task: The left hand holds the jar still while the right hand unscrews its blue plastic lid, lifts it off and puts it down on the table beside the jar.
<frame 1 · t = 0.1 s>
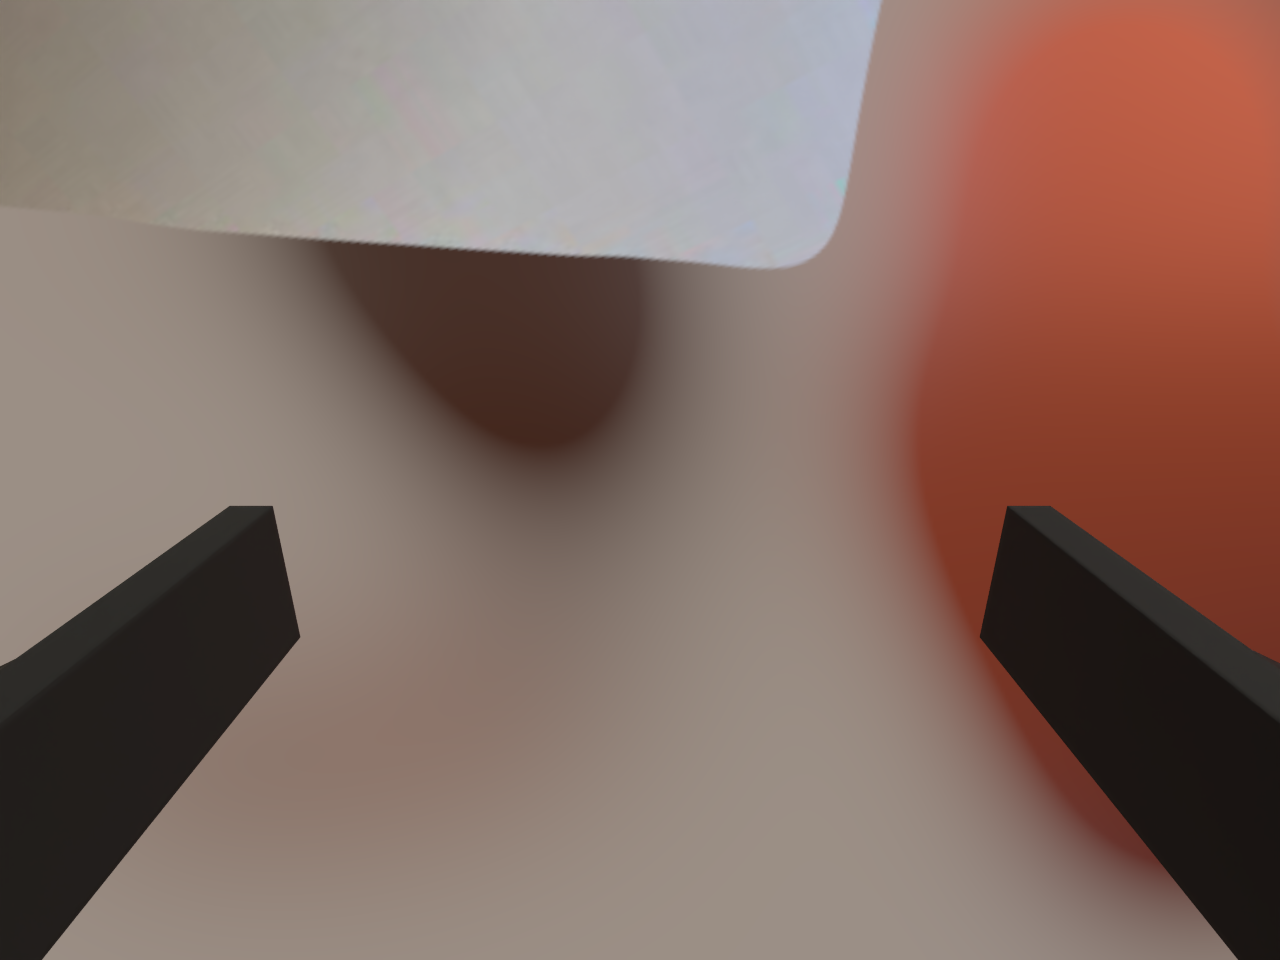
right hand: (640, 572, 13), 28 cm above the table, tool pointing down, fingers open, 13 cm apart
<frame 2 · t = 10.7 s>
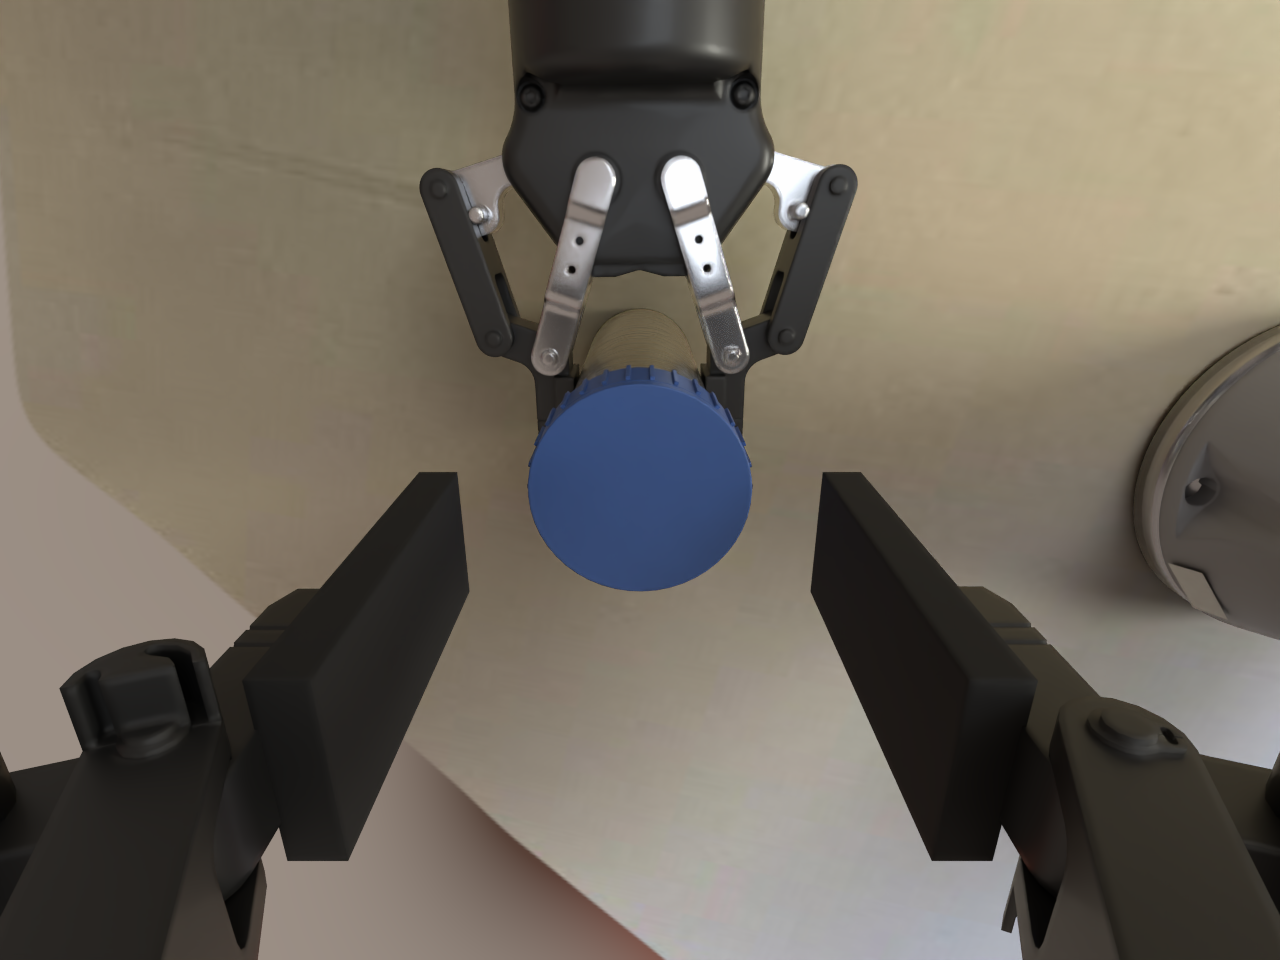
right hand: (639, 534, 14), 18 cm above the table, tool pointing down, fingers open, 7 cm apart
left hand: (641, 466, 26), fingers closed on jar, 4 cm apart
jar: (640, 360, 31), on the table, touching left hand
lid: (639, 488, 16), point 15 cm above the table, screwed on, not yet turned
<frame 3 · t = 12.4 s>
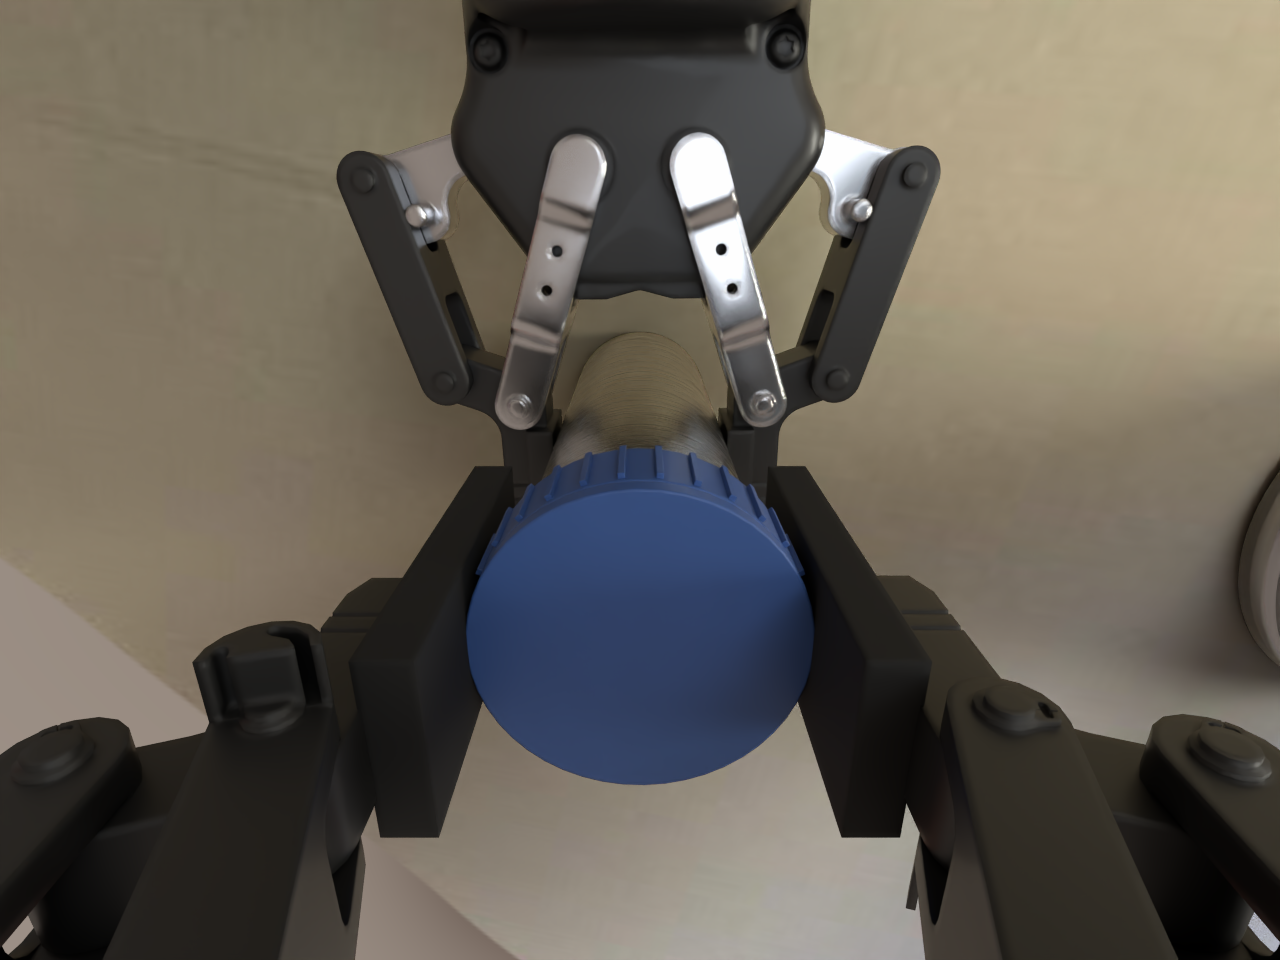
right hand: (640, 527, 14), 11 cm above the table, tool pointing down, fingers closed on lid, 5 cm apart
left hand: (642, 539, 20), fingers closed on jar, 4 cm apart
jar: (640, 394, 25), on the table, touching left hand
lid: (640, 637, 11), point 15 cm above the table, screwed on, not yet turned, touching right hand
when the right hand's fingers open (12 cm above the table, at t = 13.8 s): lid stays where it is, point 16 cm above the table.
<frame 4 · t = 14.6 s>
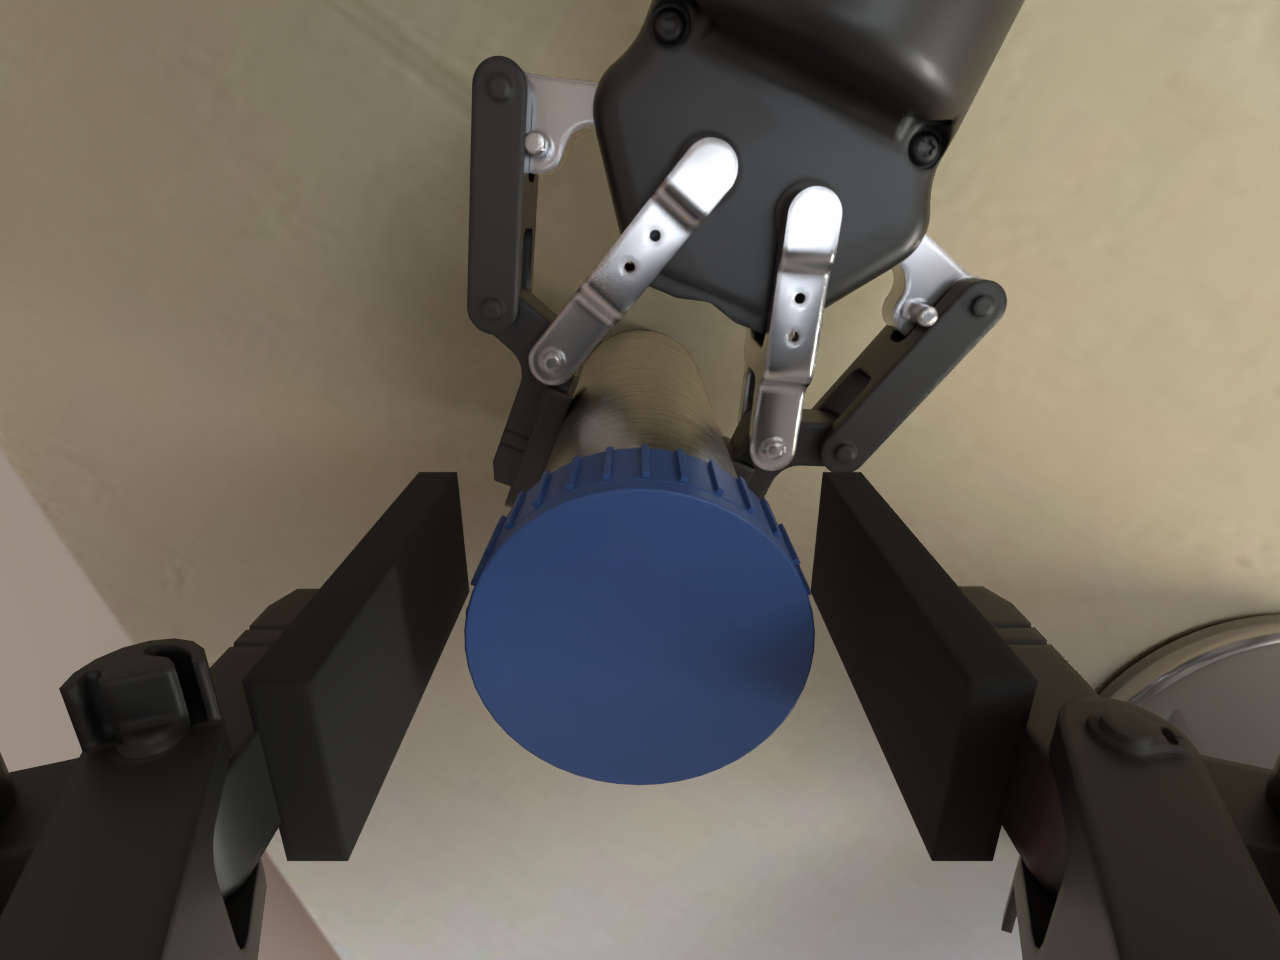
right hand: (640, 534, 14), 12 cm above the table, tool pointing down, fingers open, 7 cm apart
left hand: (606, 528, 20), fingers closed on jar, 4 cm apart
jar: (640, 392, 25), on the table, touching left hand
lid: (639, 637, 11), point 16 cm above the table, turned 111° so far, risen 0.3 cm, still on its thread
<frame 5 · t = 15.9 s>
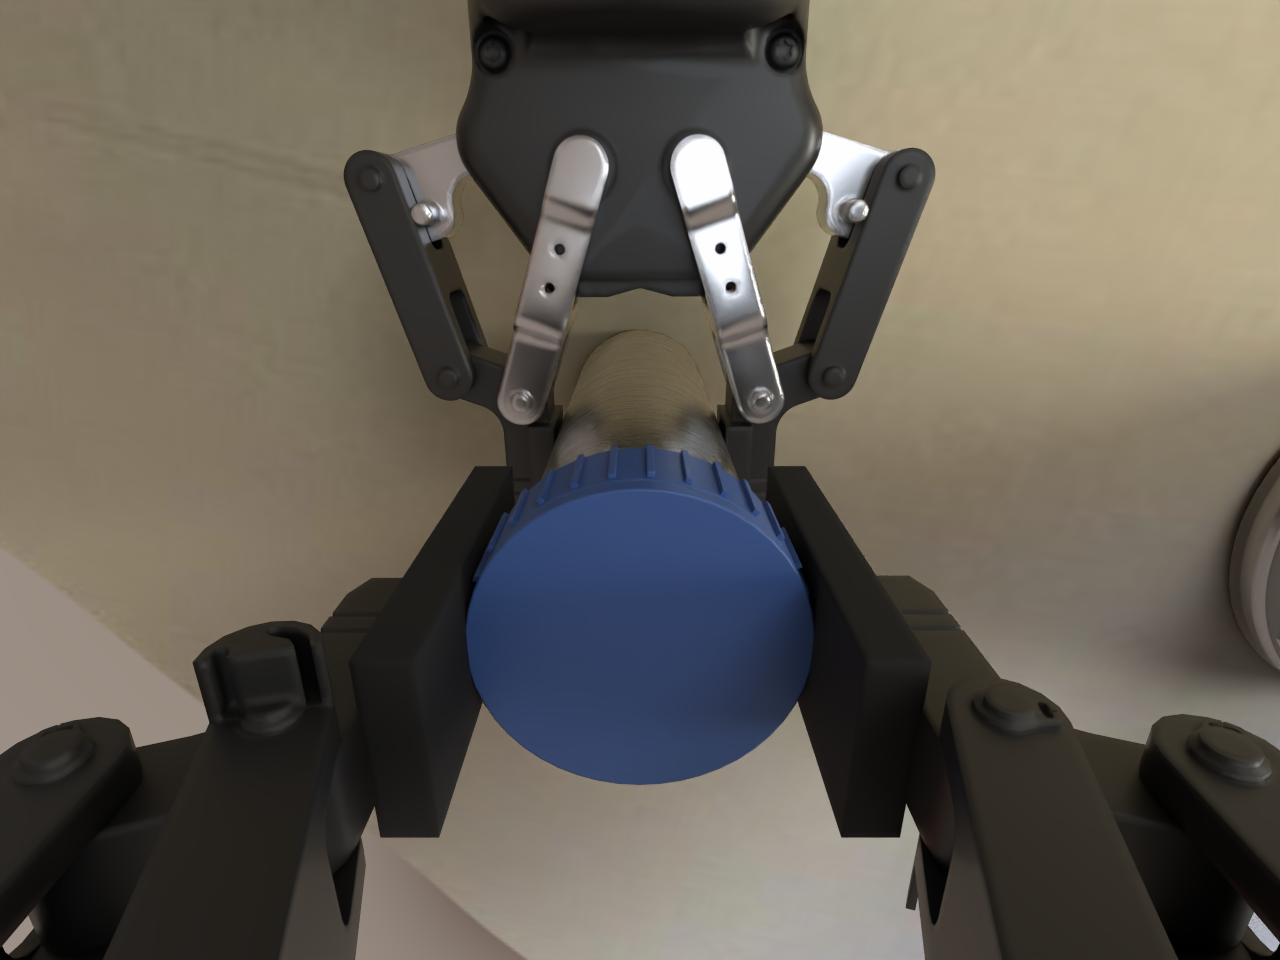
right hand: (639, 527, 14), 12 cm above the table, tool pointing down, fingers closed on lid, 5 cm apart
left hand: (641, 534, 20), fingers closed on jar, 4 cm apart
jar: (640, 392, 25), on the table, touching left hand
lid: (639, 637, 11), point 16 cm above the table, turned 111° so far, risen 0.3 cm, still on its thread, touching right hand
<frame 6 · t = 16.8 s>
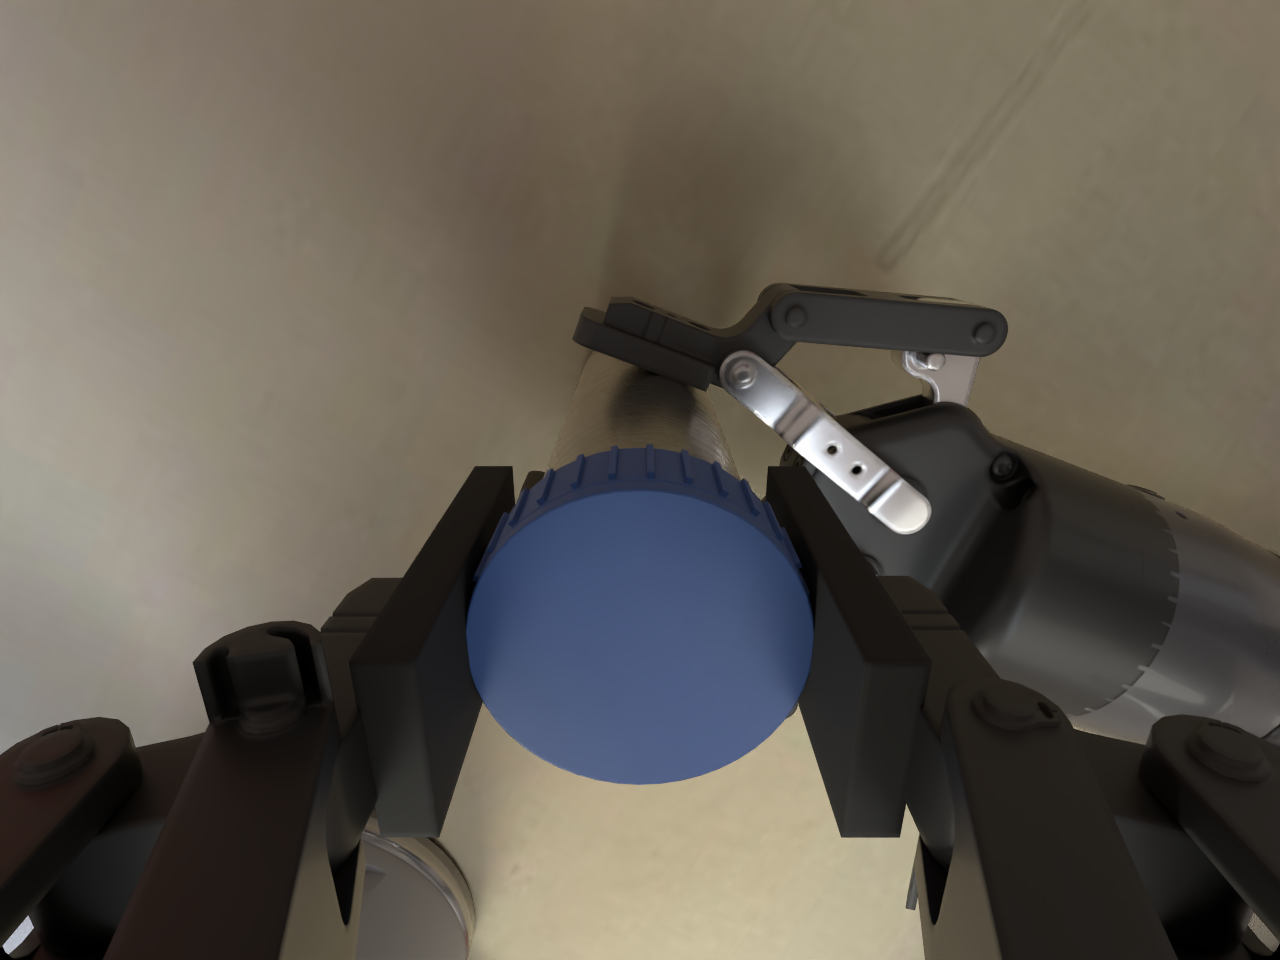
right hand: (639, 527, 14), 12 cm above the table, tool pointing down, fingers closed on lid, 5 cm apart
left hand: (551, 412, 19), fingers closed on jar, 4 cm apart
jar: (641, 389, 26), on the table, touching left hand
lid: (639, 637, 11), point 16 cm above the table, off its thread, touching right hand
when the right hand's fingers open (0 cm above the table, at t = 22.9 s): lid drops 3 cm, point 1 cm above the table.
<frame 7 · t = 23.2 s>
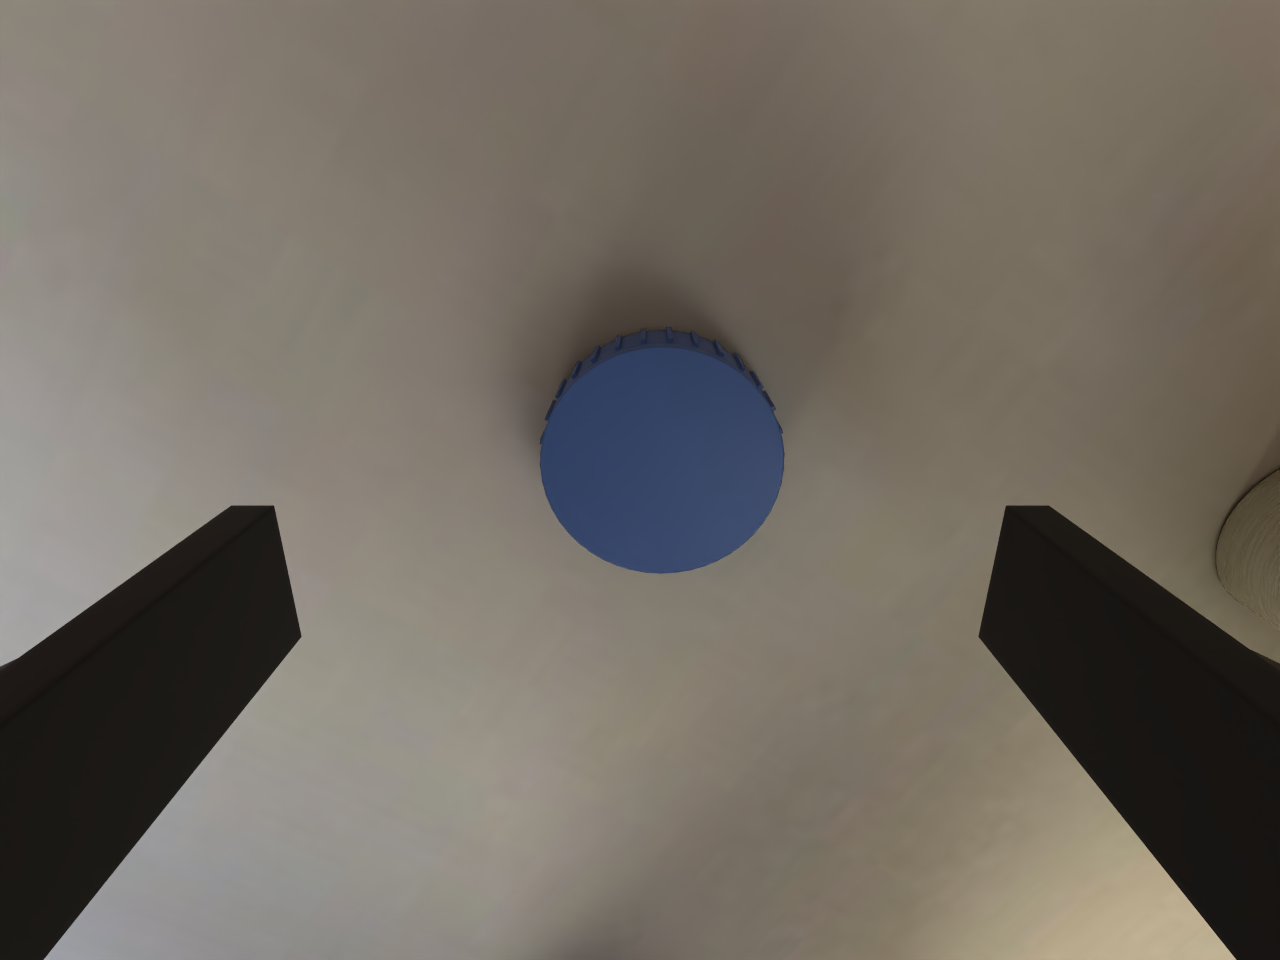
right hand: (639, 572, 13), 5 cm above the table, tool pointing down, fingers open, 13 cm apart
lid: (661, 462, 15), point 1 cm above the table, off its thread
when the left hand's fingers open (6 cm above the table, at t = 23.5 s): jar stays where it is, on the table.
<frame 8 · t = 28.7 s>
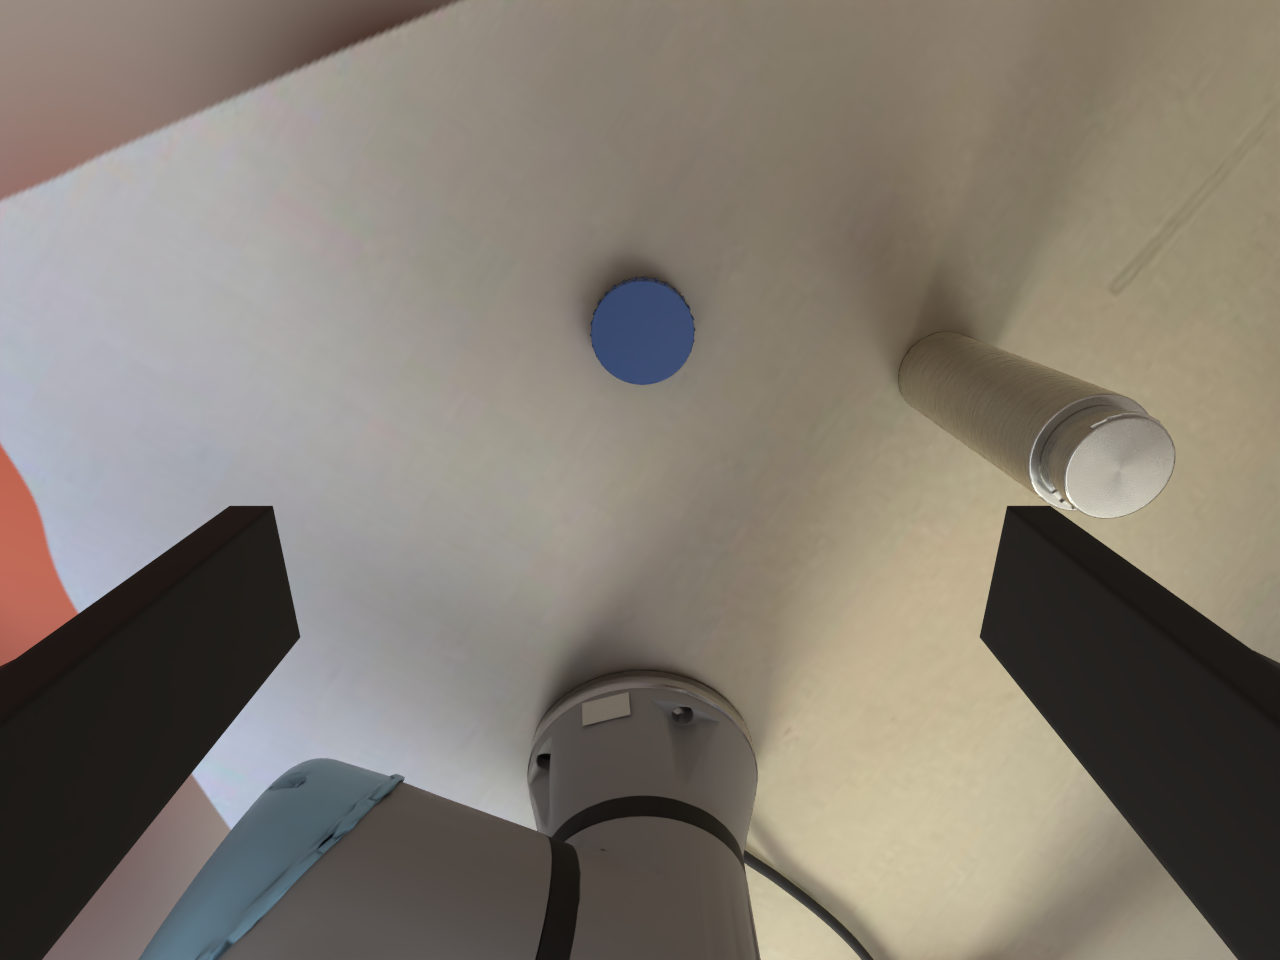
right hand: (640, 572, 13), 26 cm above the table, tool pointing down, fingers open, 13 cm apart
jar: (939, 373, 38), on the table
lid: (642, 333, 35), point 1 cm above the table, off its thread
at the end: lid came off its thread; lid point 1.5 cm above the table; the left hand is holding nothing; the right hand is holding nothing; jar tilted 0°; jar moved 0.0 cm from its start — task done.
